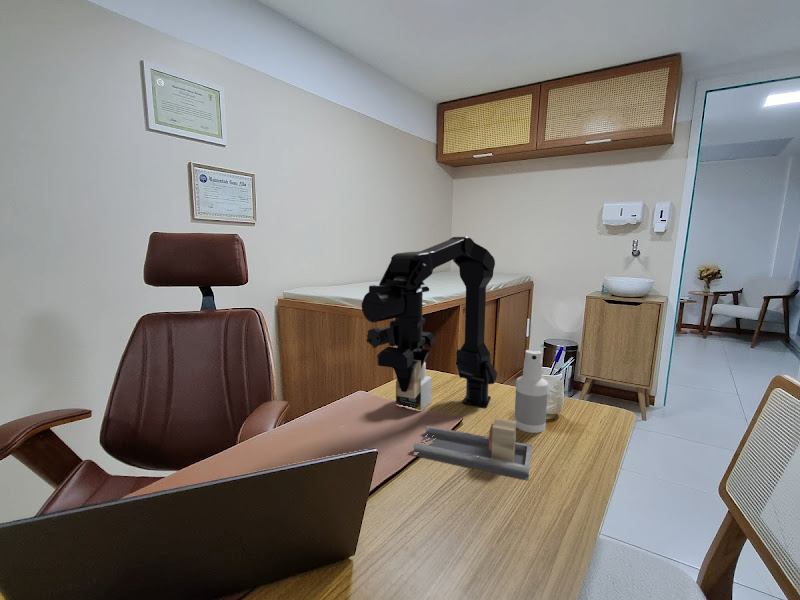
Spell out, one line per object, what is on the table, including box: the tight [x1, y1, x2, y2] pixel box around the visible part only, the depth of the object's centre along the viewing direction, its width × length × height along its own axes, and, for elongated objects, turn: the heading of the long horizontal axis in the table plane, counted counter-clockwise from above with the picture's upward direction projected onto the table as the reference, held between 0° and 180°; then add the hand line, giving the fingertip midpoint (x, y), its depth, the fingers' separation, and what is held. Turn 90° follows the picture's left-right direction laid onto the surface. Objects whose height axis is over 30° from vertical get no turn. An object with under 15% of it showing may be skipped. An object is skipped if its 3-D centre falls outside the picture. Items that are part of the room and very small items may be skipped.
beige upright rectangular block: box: [488, 417, 517, 463], centre depth 74 cm, size 4×5×7 cm
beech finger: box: [395, 360, 421, 399], centre depth 80 cm, size 5×4×7 cm
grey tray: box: [413, 425, 533, 477], centre depth 76 cm, size 9×22×2 cm, turn 68°
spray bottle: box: [513, 349, 549, 434], centre depth 86 cm, size 7×7×18 cm
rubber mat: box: [415, 433, 530, 481], centre depth 76 cm, size 11×22×1 cm, turn 68°
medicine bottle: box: [395, 361, 433, 410], centre depth 99 cm, size 7×7×12 cm
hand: (408, 387), depth 80 cm, fingers closed on beech finger, 5 cm apart
